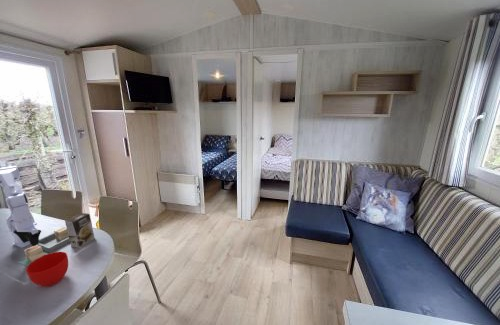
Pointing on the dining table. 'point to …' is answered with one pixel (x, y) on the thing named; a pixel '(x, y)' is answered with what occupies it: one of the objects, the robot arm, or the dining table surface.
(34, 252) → the labelled block
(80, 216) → the coffee box
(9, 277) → the dining table surface
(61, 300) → the dining table surface
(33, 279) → the red mixing bowl
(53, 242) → the parts bin
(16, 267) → the dining table surface
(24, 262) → the teal mat
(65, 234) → the plain block
